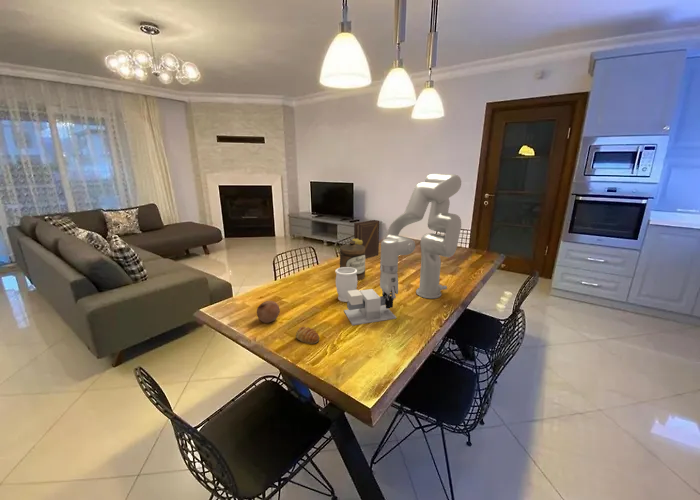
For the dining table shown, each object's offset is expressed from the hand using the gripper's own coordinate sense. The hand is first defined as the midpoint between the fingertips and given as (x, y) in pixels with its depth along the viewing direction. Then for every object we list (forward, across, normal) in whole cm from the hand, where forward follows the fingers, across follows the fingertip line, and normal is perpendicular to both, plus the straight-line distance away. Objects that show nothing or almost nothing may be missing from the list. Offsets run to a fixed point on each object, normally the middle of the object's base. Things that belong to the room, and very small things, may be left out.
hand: (387, 305), depth 137 cm
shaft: (-1, 0, +8) cm, 9 cm away
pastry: (+4, -10, +38) cm, 39 cm away
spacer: (-4, 0, +16) cm, 16 cm away
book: (+3, +81, -19) cm, 83 cm away
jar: (+3, +19, +14) cm, 24 cm away
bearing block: (+3, 0, +9) cm, 9 cm away
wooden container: (+4, +47, +2) cm, 47 cm away
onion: (+4, +8, +52) cm, 52 cm away
